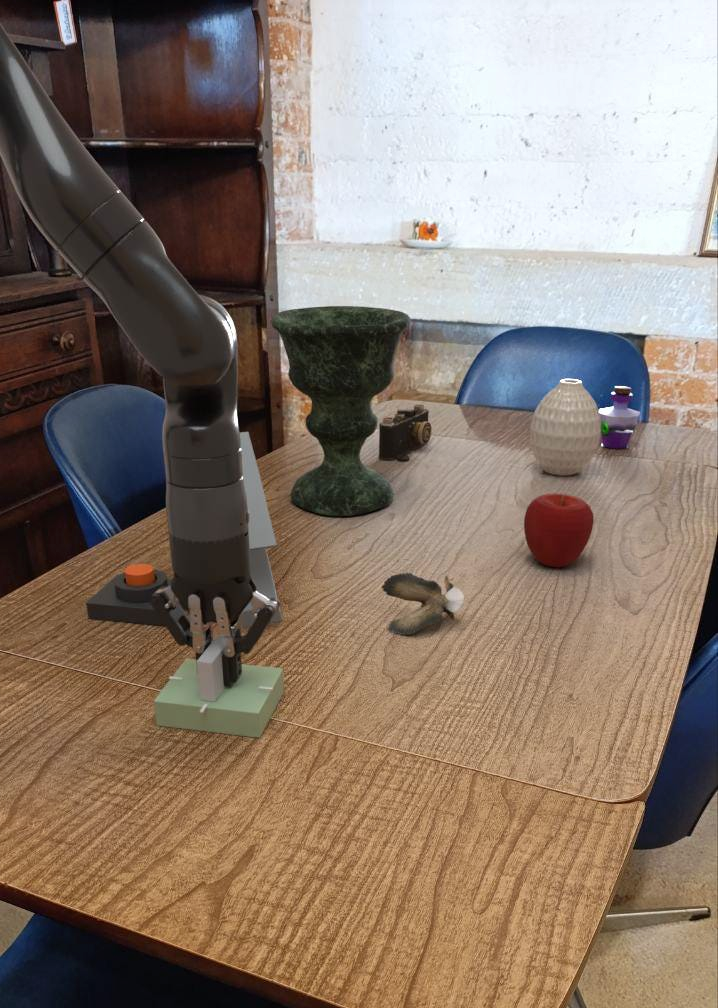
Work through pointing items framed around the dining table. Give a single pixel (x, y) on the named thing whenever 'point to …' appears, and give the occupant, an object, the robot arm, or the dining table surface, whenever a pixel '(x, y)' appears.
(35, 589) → the dining table surface
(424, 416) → the camera
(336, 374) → the goblet
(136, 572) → the button
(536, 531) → the apple
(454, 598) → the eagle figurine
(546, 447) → the vase
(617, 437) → the potion bottle
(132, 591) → the button box
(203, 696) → the grey flat block
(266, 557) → the bracket
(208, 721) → the base
